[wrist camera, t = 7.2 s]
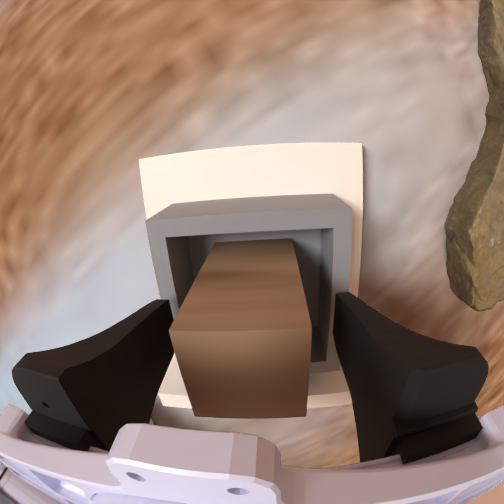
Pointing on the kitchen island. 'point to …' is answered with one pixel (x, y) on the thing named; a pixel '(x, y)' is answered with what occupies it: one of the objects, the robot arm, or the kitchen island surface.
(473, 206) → the stone slab
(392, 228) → the kitchen island surface
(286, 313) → the walnut rail post
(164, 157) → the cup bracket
